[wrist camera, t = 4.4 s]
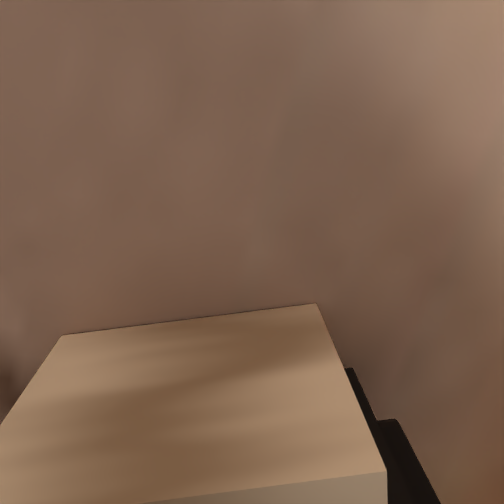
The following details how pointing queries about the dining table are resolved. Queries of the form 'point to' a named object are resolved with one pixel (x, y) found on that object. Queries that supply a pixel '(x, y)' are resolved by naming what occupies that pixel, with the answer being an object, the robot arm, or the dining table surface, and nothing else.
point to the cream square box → (193, 417)
